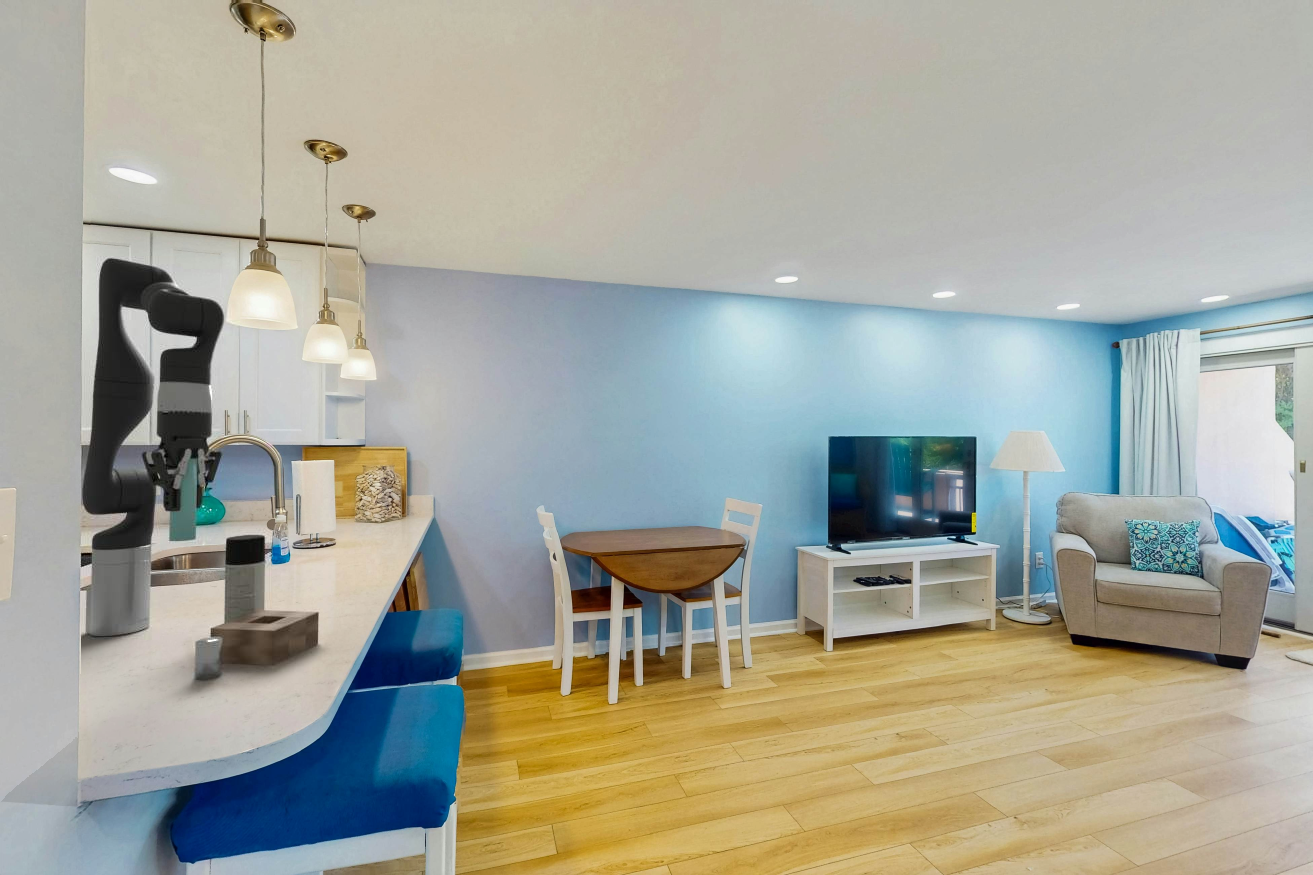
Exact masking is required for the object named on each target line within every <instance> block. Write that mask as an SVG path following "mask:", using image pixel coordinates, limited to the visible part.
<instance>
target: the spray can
mask: <svg viewBox="0 0 1313 875" xmlns="http://www.w3.org/2000/svg"><path fill="white" fill-rule="evenodd" d="M224 564H225V565H224V566H225V567H224V573H225V574H224V577H225V578H224V620H223V622H224V623H227V622H229V621H232V620H235V619H238V618H240V617H243V616H246V615H249V614H251V613H254V612H257V611H260V610H265V590H266V588H265V586H266V585H265V584H266V581H265V580H266V579H265V578H266V536H265V535H262V534H244V535H236V536H235V535H234V536H229V537H226V539H225V561H224ZM224 623H223V624H224Z"/></svg>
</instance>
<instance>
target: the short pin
mask: <svg viewBox="0 0 1313 875" xmlns="http://www.w3.org/2000/svg"><path fill="white" fill-rule="evenodd" d="M194 650H195V652H194V655H195V656H194V658H195V659H194V680H195V681H198V682H204V681H209V680H210V681H211V680H214V679H217V678H219V677H221V676H222V675H223V674H222V673H223V671H222V670H223V669H222V668H223V663H222V637H210V636H209V637H204V638H200V639H197V640H196V641H195V649H194Z"/></svg>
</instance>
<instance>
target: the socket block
mask: <svg viewBox="0 0 1313 875" xmlns="http://www.w3.org/2000/svg"><path fill="white" fill-rule="evenodd" d="M319 613H320V612H319V611H300V610H299V611H298V610H297V611H295V610H270V609H269V610H267V609H264V610H260V611H257V612H254V613H251V614H249V615H246V616H243V617H240V618H238V619H235V620H232V621H229V622H227V623H221V624H218V625H216V626H213V627H210V636H209V637H222V664H235V665H236V664H237V665H238V664H239V665H243V664H244V665H260V666H261V665H265V666H276V665H277V664H279V663H281V662H283V661H285V660H288V659H289V658H292V657H293V656H296V655H297V654H299V653H301V652H303V651H305V650H307V649H309V648H311V647H313V646H315V645H317V644H318V643H319V618H320V616H319Z"/></svg>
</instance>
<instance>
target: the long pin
mask: <svg viewBox="0 0 1313 875" xmlns="http://www.w3.org/2000/svg"><path fill="white" fill-rule="evenodd" d="M176 469H177V468H171V470H176ZM171 480H173V475H172V477H171ZM178 489H181V499H180V510H179V511H169V528H168V529H169V531H168V532H169V533H168V534H169V539H168V540H169V542H185V541H193V540H196V537H197V535H196V534H197V509H196V500H197V459H189V460H188V464H187V469H186V473H185V475H183V476H182V479H181V484H180V487H179V488H178Z"/></svg>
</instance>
